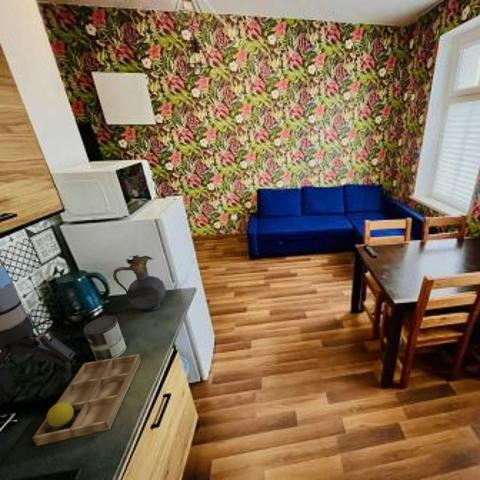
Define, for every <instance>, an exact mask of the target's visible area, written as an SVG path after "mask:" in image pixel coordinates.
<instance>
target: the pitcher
mask: <svg viewBox="0 0 480 480" xmlns="http://www.w3.org/2000/svg"><path fill="white" fill-rule="evenodd" d="M128 257H132V258H131V259H130V258H127V259H126V263H127V264H128V266H120V267H117V268H115V269H114V270H113V272H112V277H113V281H115V283H116V284H117V285H119V287H120V288H122V289H123V290H124V291H125V297H124V300H123V301H124V302H126V300H128V302H129V304H131V306H133V307H135V308H136V309H139V310H140V309H141V310H142V312H143V313H150V312H154V311H156V310H158V309H159V308H160V307H161V303H162V302H163V301H164V299H165V297H166V291H167V289H166V286H165V283H164V282H163V280H162V279H160V278H159V277H157V276H153V275H149V272H148V267H147V263H148V261H153V260H154V258H153V257H151V256H149V255H143V256H140V254H136V255H130V256H128ZM121 271H128V272H129V271H131V272H133V274H134V275H135V278H136V279H135V280H133V281H132V282H131V283H130V285H129V286H128V288H126V287H125V286H124V285H123V284H122V283H121V282H120V281H119V279H118V276H117V274H118V273H119V272H121Z"/></svg>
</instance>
